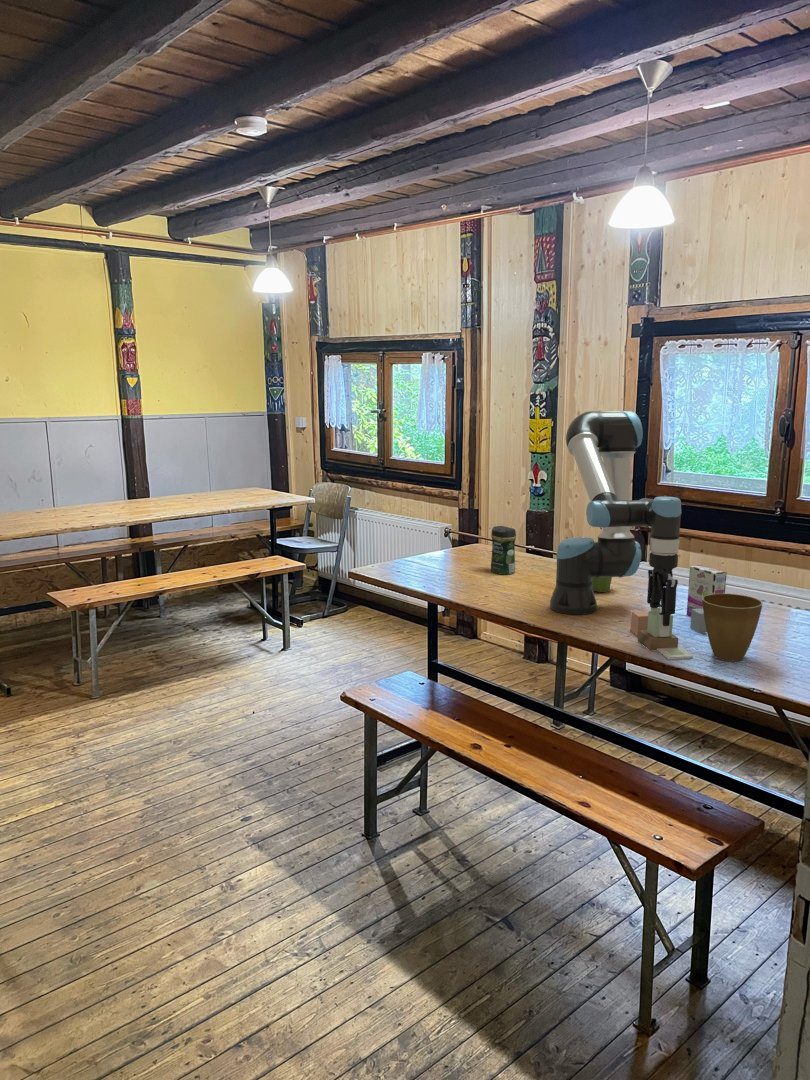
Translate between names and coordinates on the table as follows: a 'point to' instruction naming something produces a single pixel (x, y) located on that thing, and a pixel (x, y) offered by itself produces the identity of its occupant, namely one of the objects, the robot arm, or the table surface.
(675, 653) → the tile
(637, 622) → the terracotta block
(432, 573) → the table surface
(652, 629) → the sage block
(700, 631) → the slate block
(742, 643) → the plant pot
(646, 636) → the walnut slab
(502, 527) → the coffee jar
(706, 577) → the candy bar box
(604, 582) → the plant pot
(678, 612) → the table surface
